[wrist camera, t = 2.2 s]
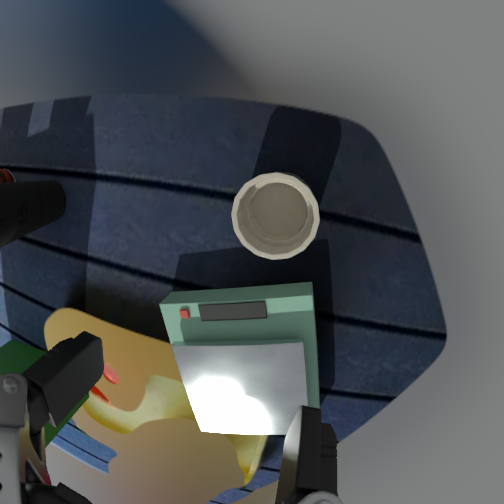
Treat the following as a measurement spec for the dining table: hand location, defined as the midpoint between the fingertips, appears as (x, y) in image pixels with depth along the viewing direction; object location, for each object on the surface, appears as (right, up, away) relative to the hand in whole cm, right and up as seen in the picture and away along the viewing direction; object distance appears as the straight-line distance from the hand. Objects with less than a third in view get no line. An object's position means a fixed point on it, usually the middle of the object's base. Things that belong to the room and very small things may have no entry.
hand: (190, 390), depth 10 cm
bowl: (+5, +9, +16) cm, 19 cm away
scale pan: (+2, -8, +17) cm, 19 cm away
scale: (+2, -6, +21) cm, 22 cm away
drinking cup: (-21, +11, +20) cm, 31 cm away
